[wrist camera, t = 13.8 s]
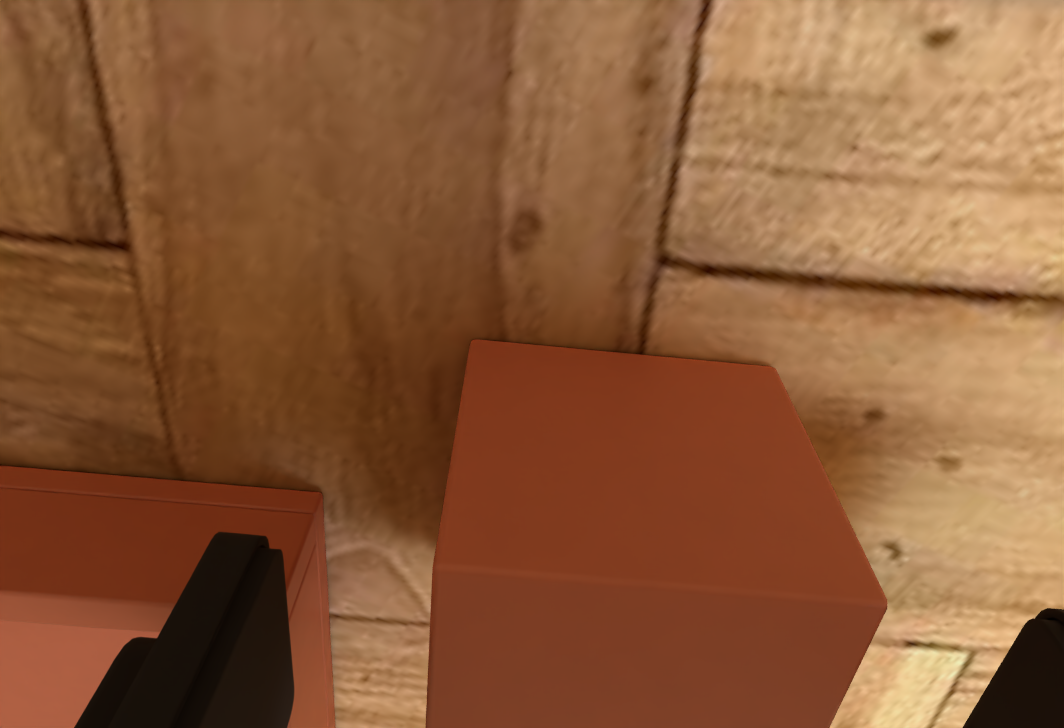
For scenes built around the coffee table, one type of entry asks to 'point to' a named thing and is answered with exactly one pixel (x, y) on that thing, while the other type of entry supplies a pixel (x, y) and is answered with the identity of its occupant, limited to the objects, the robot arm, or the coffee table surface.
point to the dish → (136, 580)
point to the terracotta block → (639, 550)
